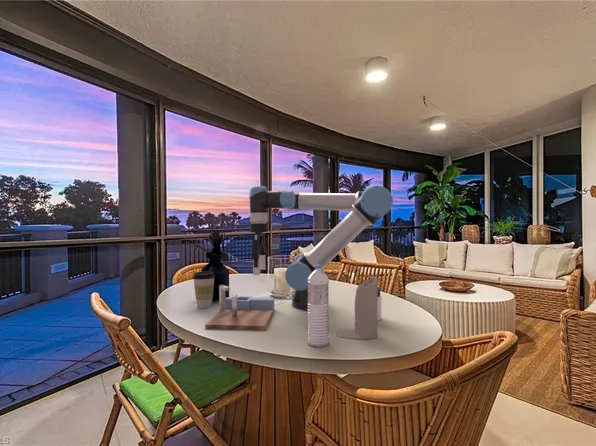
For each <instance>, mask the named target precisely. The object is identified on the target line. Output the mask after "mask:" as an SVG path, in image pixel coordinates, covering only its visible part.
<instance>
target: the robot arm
mask: <svg viewBox="0 0 596 446" xmlns="http://www.w3.org/2000/svg"><path fill="white" fill-rule="evenodd" d="M393 204H394V198H393V195H392V193H391V192H390V191H389V190H388V189H387V188H386V187H385V186H381V185H371V186H369V187H367V188H365V190H363V191H362V190H358V191H357V192H356V193H346V192H345V193H344V192H343V193H341V192H340V193H336V192H335V193H331V192H330V193H329V192H294V191H293V190H286V189H284V190H268V188H267V186H262V185H261V186H257V185H256V186H252V187H250V188H249V215H248V218H249V221H250V224H249V232H250V233H254V234H253V235H252V248H251V256H250V260H252V275H253V276H261V270H263V271H264V270H267V269H266V268H267V267H266V266H267V265H266V256H267V255H268V252H267V247H266V239H265V237H266V234H265V233H267V232H268V229H269V228H268V227H269V226H268V222H269V221H268V218H269V217H268V214H269V213H268V209H269V210H270V209H271V210H272V209H273V210H275V209H277V210H278V209H282V210H283V209H284V210H309V211H310V210H312V211H315V210H316V211H348V214H346V215H345V217H343V218H342V220H340V221H339V222H338V224H336V226H334V227H333V228H332V230H330V231H329V233H327V234H326V235H325V236H324V237H323V238H322V239H321V240H320V241H319V242H318V243H317V244H316V245H315V246H314V247H313V248H312V249H311V250H310V251H304V252H303V253H302V254H296V256H295V261H293V262H291V263H290V264H289V265H288V266H287V267H286V270H285V273H284V274H285V275H284V276H285V282H286V283H287V285H288V286H289V287H290V288H291V289H293V290H294V293H293V296H292V300H291V306H292V307H293V308H296V309H300V310H307V309H308V307H307V306H308V305H307V303H308V283H307V281H308V280H307V279H308V277H309V275H310V274H311V273H312V272H313V271H315V270H316V269H315V265H321V270H322V271H323V272H324V273H325V267H326V266H327V265H328V264H329V263H330V262H331V261H333V260H334V259H335V258H336V256H338V254H340V253H341V252H342V251H343V250H344V249H345V248H346V247H347V246H348V245H349V244H350V243H351V242H352V241H353V240H355V238H356V237H357V236H358V235H360V233H362V231H364V229H366V228H367V227H368V226H369V227H370V226H374V225H375V224H377V223H378V222H379V220H380V219H382V218H383V217H384V216H385V215H386V214H388V213H389V212H390V211H391V209H392V207H393ZM349 211H350V212H349Z"/></svg>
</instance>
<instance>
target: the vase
mask: <svg viewBox="0 0 596 446" xmlns="http://www.w3.org/2000/svg"><path fill="white" fill-rule="evenodd" d="M211 229H212V231H213V232H211V233H209V235H207V240H208V243H209V244H210V246H211V247H210V249H209V250H211V251H210V252H205V254H206V256H205V257H206V258H205V259H208V263H206V265H204V266H203V267H201V272H204V271H210V272H214V275H215V278H214V289H213V298H212V303H215V302H219V286H220V285H225V286H228V287H230V269H229V268H228V267H227V266H225V265H224V264H223V263H222V259H223V261H224V262H225V263H226V262H227V261H229V255H228V253H227V251H225V250H223V249H222V247H221V245H222V243H223V242H224V241H225V238H226V232H225V231H223V232H221V233H220V232H219V231H216V230H218V227H216V228H215V229H216V230H215V229H214V228H213V227H211ZM227 297H230V290H228V291H225V299H226V298H227Z"/></svg>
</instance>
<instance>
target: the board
mask: <svg viewBox="0 0 596 446" xmlns="http://www.w3.org/2000/svg"><path fill="white" fill-rule="evenodd" d="M273 316H274V311H273V310H237V316H236V317H232V309H225V310H224V311H218V312H217V313H216V314H214V316H213V317H211V318H210V319H209V320H208V321H207V322H206V323H205V324H204V329H205V330H206V329H207V330H209V329H210V330H244V331H245V330H247V331H248V330H249V331H266V329H267V327H268V325H269V323H270V321H271V319H272V317H273Z"/></svg>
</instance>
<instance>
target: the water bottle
mask: <svg viewBox="0 0 596 446" xmlns="http://www.w3.org/2000/svg"><path fill="white" fill-rule="evenodd" d="M315 269H316V270H315V271H313V272H312V273H311V274H310V275H309V277H308V279H307V280H308V281H307V283H308V303H307V305H308V306H307V307H308V309H306V310H307V344H309V346H311V347H316V348H323V347H326V346H328V344H329V340H330V321H329V320H330V302H329V300H330V299H329V283H330V278H329V277H328V274H326V273H325V271H324V272H323V271H322V270H321V265H315Z"/></svg>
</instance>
